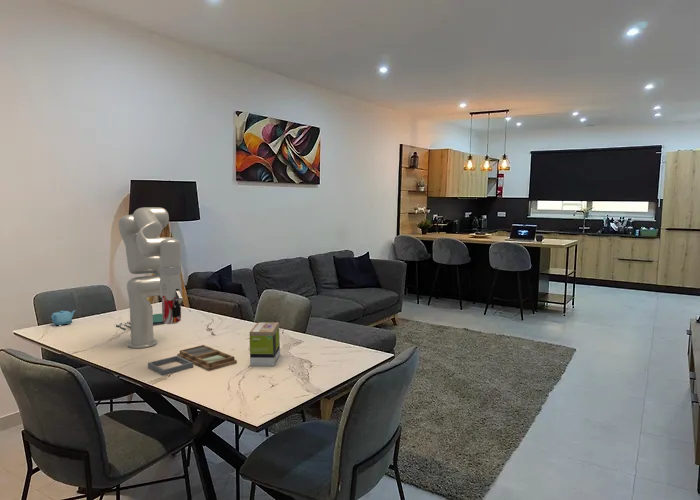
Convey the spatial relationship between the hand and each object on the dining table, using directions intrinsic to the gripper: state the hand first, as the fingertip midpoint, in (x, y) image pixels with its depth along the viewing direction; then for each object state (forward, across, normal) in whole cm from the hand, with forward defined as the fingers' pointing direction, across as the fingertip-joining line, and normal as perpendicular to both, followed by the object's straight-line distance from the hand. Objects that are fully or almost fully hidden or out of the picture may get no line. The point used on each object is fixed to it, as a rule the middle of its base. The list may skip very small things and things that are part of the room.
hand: (171, 314), depth 193 cm
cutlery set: (+23, -76, +23) cm, 83 cm away
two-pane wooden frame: (+22, +2, +14) cm, 26 cm away
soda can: (+3, 0, 0) cm, 3 cm away
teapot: (+22, -103, -9) cm, 105 cm away
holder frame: (+22, 0, -1) cm, 22 cm away
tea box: (+22, +19, +31) cm, 43 cm away
